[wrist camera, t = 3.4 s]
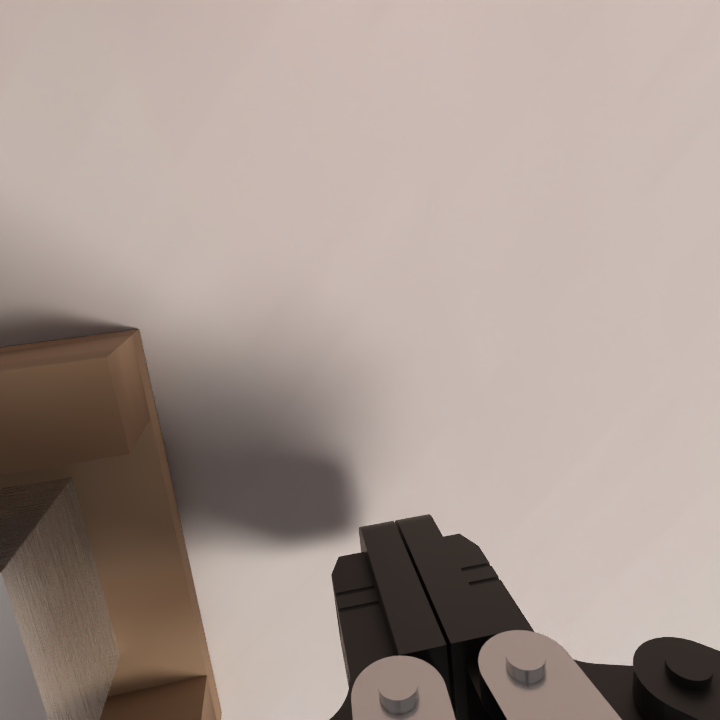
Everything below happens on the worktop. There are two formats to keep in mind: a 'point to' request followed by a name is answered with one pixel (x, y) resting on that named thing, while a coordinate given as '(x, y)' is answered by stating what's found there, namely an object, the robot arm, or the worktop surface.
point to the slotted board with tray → (114, 509)
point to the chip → (51, 608)
